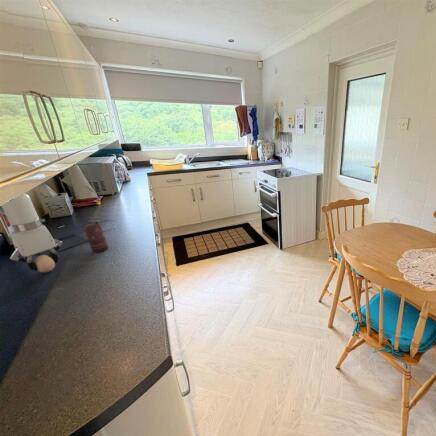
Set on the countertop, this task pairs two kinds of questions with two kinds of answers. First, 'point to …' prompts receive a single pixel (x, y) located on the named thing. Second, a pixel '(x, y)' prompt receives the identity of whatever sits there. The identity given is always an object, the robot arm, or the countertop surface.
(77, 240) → the placemat
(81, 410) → the countertop surface
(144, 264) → the countertop surface
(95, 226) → the can
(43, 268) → the egg
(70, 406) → the countertop surface
